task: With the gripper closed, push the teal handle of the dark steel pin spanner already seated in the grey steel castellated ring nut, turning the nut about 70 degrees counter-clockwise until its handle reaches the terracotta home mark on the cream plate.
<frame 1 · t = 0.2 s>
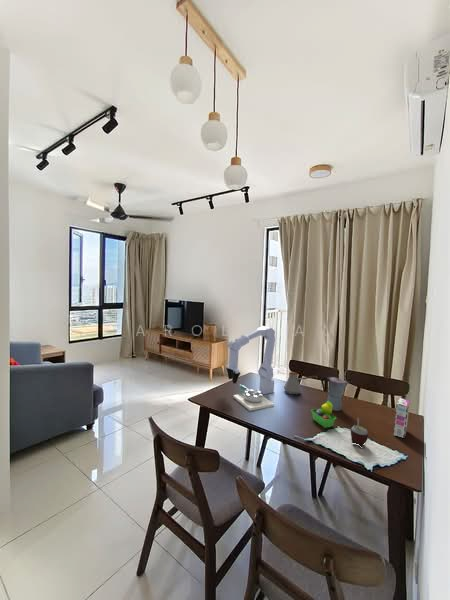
hand: (232, 381, 166), 10 cm above the table, tool pointing down, fingers open, 7 cm apart
mate gourd: (358, 445, 120), on the table
ring nut: (249, 392, 163), point 4 cm above the table, hinge at 0.0°
candy bar box: (400, 433, 133), on the table
moka pot: (332, 408, 159), on the table
coffee pot: (299, 394, 177), on the table
fruit basket: (323, 423, 140), on the table
base plate: (253, 401, 161), on the table
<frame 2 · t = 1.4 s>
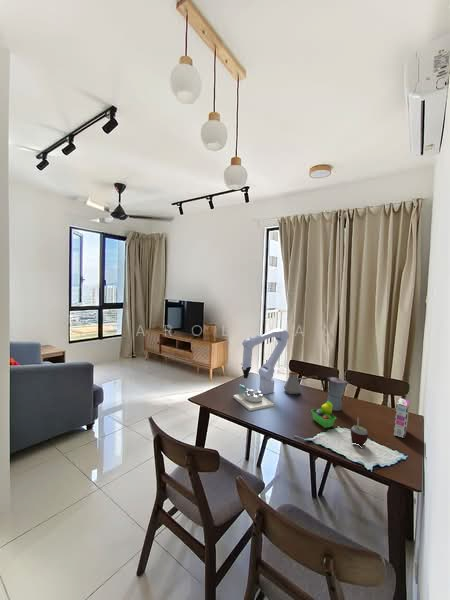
hand: (245, 378, 172), 10 cm above the table, tool pointing down, fingers closed
nothing on the table moved.
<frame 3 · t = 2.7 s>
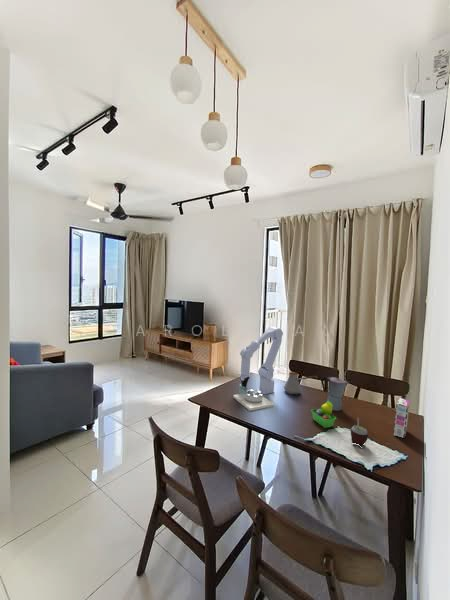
hand: (244, 388, 171), 4 cm above the table, tool pointing down, fingers closed
ring nut: (249, 392, 163), point 4 cm above the table, hinge at 0.0°, touching gripper
everything else where it was.
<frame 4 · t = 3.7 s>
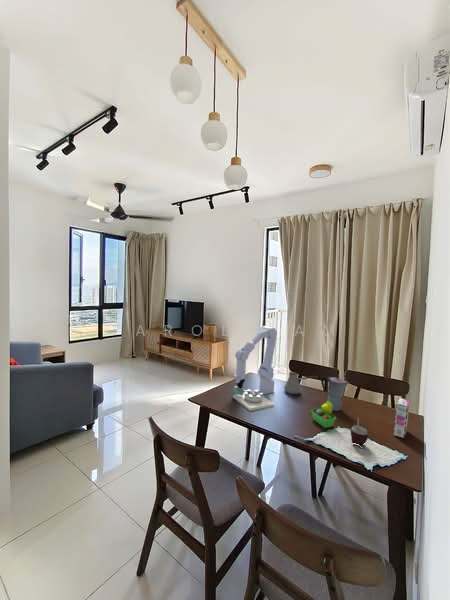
hand: (239, 390, 166), 4 cm above the table, tool pointing down, fingers closed, pressing on ring nut
ring nut: (247, 393, 162), point 4 cm above the table, hinge at 25.2°, touching gripper
everything else where it was.
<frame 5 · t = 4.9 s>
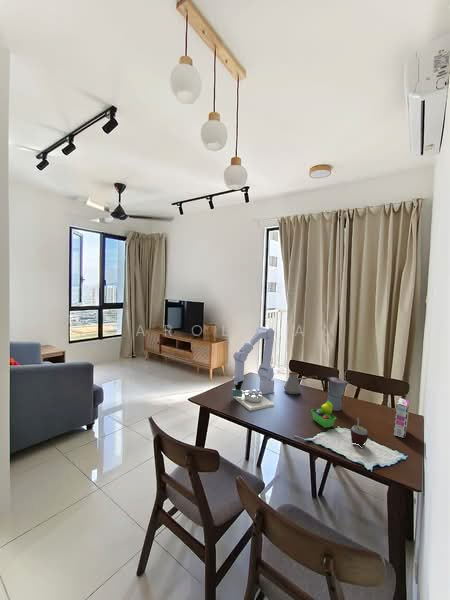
hand: (237, 392, 163), 4 cm above the table, tool pointing down, fingers closed, pressing on ring nut
ring nut: (247, 394, 161), point 4 cm above the table, hinge at 45.1°, touching gripper
everything else where it was.
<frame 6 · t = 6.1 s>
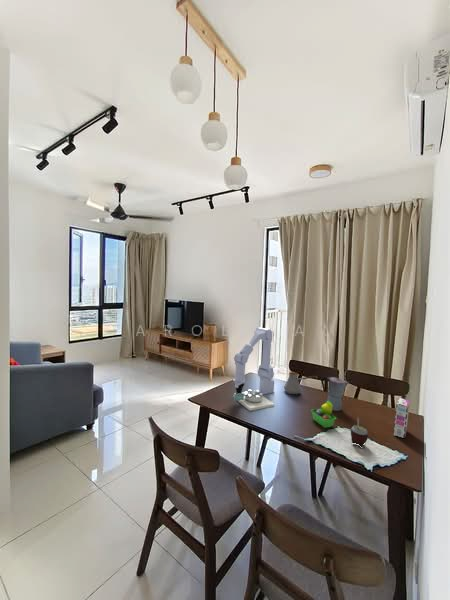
hand: (238, 395, 159), 4 cm above the table, tool pointing down, fingers closed, pressing on ring nut
ring nut: (248, 395, 159), point 4 cm above the table, hinge at 76.6°, touching gripper
everything else where it was.
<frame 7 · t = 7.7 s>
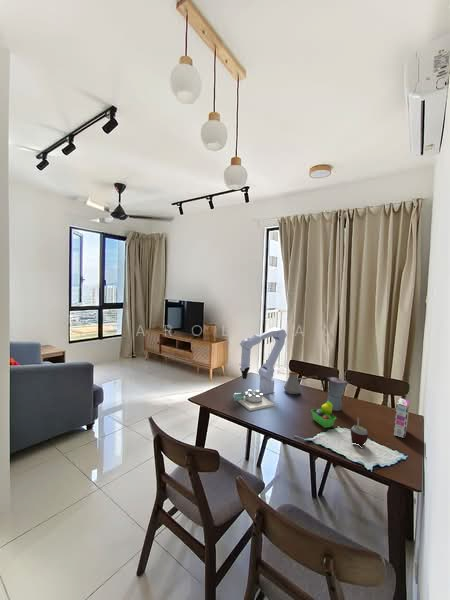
hand: (244, 378, 171), 10 cm above the table, tool pointing down, fingers closed
ring nut: (248, 395, 159), point 4 cm above the table, hinge at 77.0°
everything else where it was.
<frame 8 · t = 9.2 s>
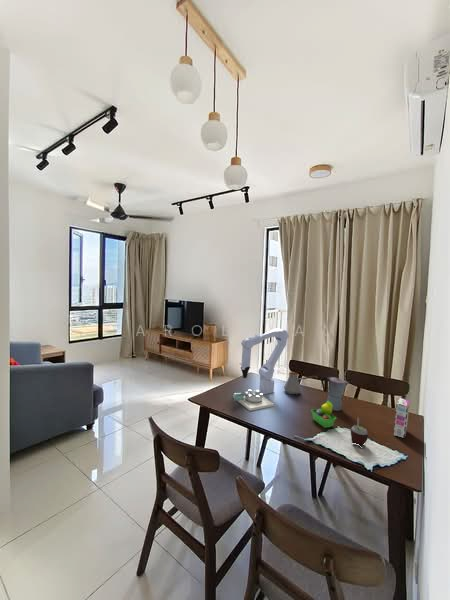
hand: (244, 377, 172), 10 cm above the table, tool pointing down, fingers closed
nothing on the table moved.
at the end: ring nut at +77° (first picture: +0°) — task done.
